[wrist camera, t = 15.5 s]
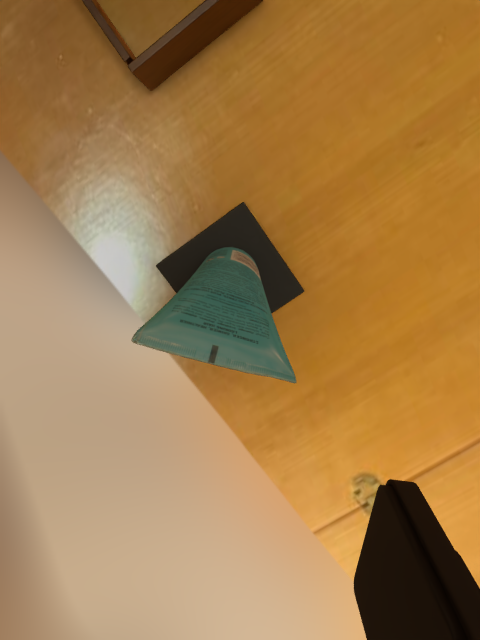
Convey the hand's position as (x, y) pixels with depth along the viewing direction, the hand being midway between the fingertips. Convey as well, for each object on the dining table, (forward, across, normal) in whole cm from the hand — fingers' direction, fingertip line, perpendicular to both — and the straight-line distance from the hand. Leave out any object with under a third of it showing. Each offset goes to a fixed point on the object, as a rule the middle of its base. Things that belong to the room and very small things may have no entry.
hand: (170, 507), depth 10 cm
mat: (+30, -1, +1) cm, 30 cm away
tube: (+29, -1, +1) cm, 29 cm away
